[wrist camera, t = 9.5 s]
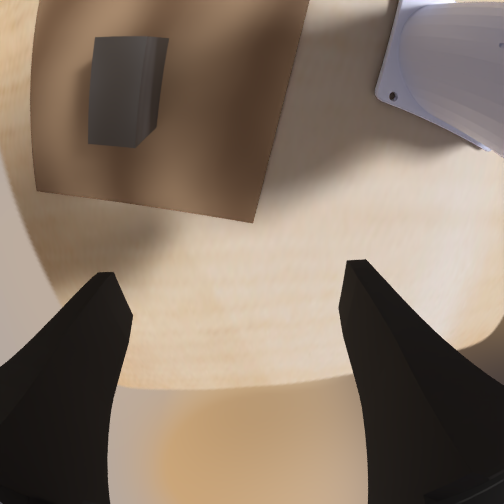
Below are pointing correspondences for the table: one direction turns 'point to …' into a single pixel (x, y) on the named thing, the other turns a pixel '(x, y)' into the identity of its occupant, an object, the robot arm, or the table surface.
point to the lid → (161, 99)
